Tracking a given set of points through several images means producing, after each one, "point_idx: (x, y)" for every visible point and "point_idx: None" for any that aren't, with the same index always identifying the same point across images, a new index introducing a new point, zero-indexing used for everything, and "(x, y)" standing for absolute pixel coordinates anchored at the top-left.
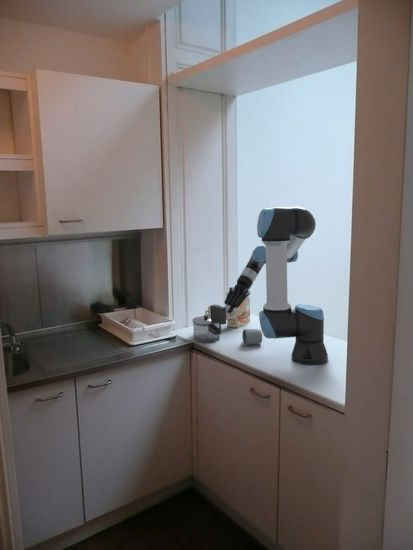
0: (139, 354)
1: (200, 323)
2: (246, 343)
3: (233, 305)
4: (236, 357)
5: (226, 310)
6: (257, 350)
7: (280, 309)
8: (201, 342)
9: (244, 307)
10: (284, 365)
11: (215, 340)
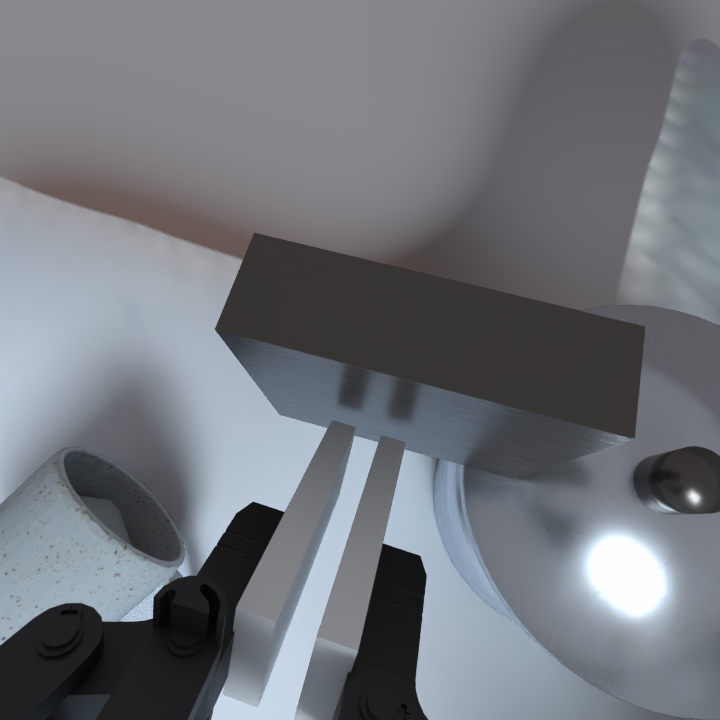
0: (694, 47)
1: (594, 311)
2: (110, 461)
3: (138, 644)
4: (118, 242)
5: (307, 503)
6: (14, 430)
7: None
8: None
9: None
10: None
11: (438, 467)
